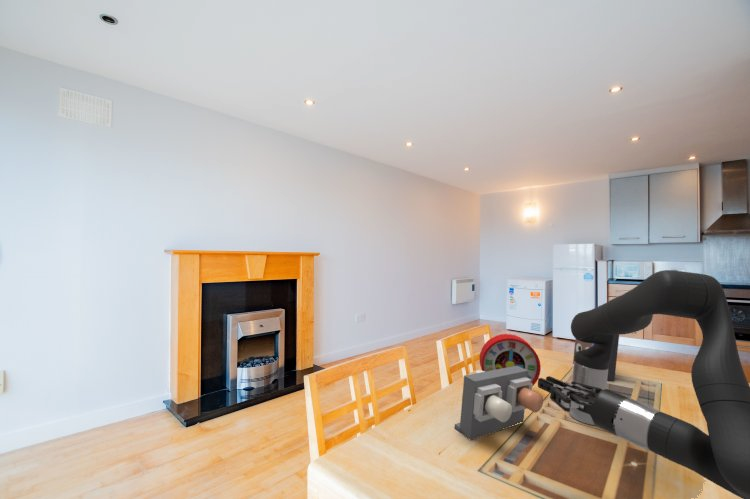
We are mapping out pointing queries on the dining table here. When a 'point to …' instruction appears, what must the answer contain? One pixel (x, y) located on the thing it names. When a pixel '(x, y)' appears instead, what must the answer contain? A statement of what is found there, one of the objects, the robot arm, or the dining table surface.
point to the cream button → (498, 408)
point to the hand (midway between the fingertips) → (543, 381)
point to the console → (480, 389)
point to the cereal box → (612, 364)
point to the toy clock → (510, 355)
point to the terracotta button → (530, 399)
